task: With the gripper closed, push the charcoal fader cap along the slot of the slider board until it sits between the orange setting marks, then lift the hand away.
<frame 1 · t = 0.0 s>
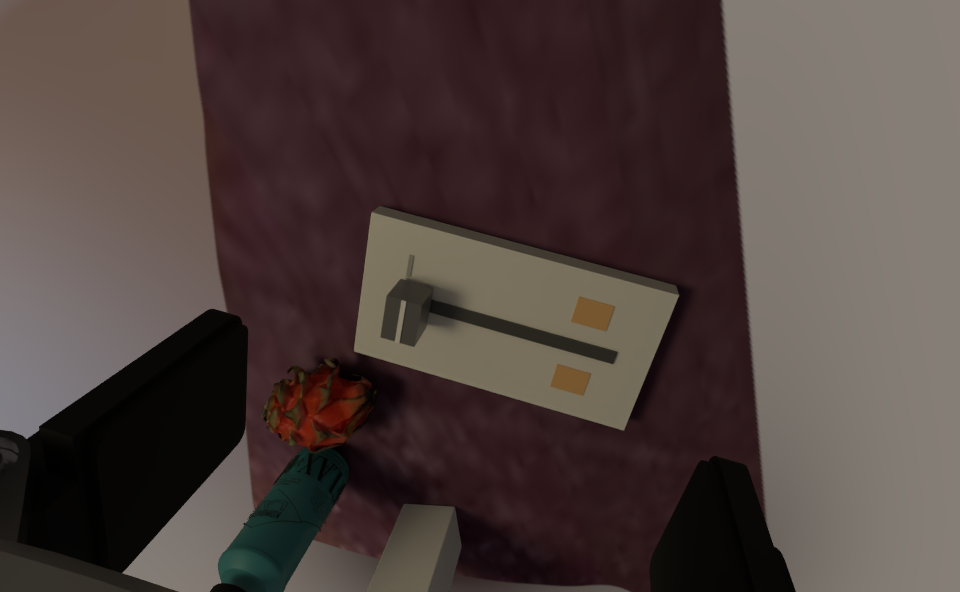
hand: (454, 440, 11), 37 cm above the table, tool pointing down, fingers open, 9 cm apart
slider board: (506, 315, 51), on the table
fader: (407, 312, 48), point 4 cm above the table, slide at -8.0 cm
milk: (433, 523, 64), on the table
beverage bottle: (329, 456, 63), on the table
dragon fruit: (337, 383, 59), on the table
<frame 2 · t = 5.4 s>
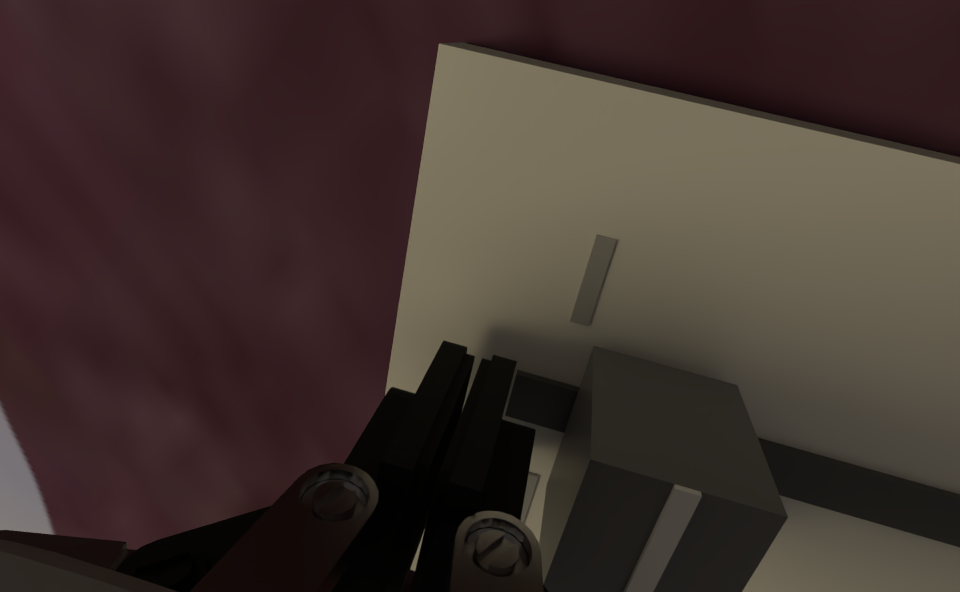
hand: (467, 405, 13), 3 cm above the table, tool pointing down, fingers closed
slider board: (908, 456, 14), on the table
fader: (638, 499, 11), point 4 cm above the table, slide at -7.1 cm, touching gripper
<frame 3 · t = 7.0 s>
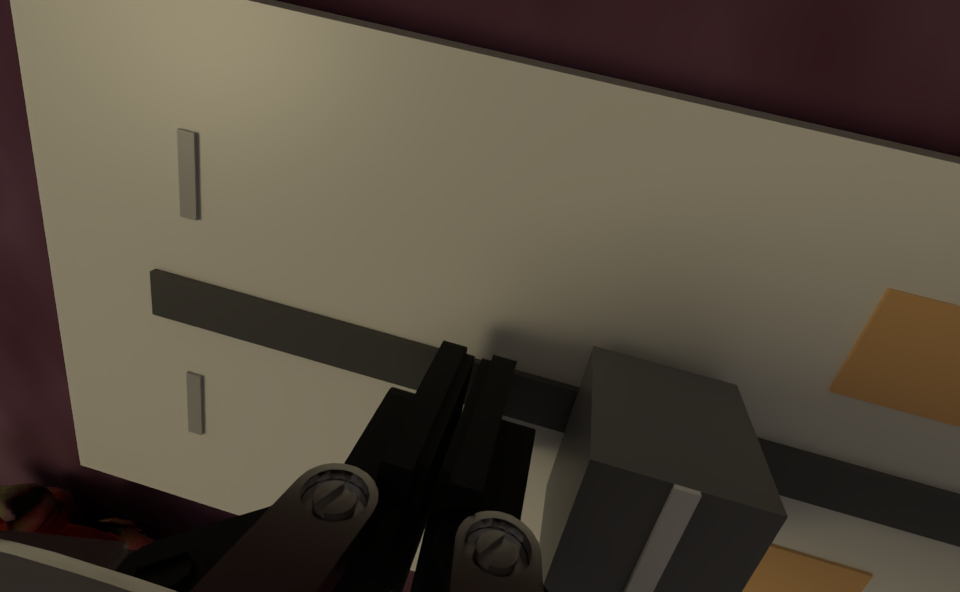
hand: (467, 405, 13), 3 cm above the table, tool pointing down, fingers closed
slider board: (552, 357, 15), on the table
fader: (638, 499, 11), point 4 cm above the table, slide at 2.1 cm, touching gripper
dragon fruit: (99, 525, 22), on the table
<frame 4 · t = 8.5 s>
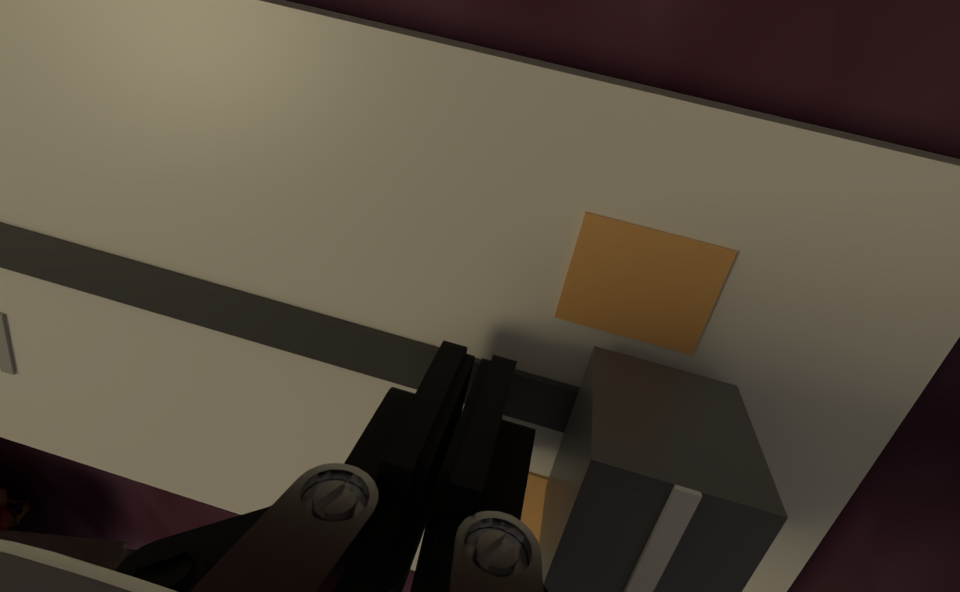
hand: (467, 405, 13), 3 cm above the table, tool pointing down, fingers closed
slider board: (344, 298, 16), on the table
fader: (638, 499, 11), point 4 cm above the table, slide at 8.0 cm, touching gripper
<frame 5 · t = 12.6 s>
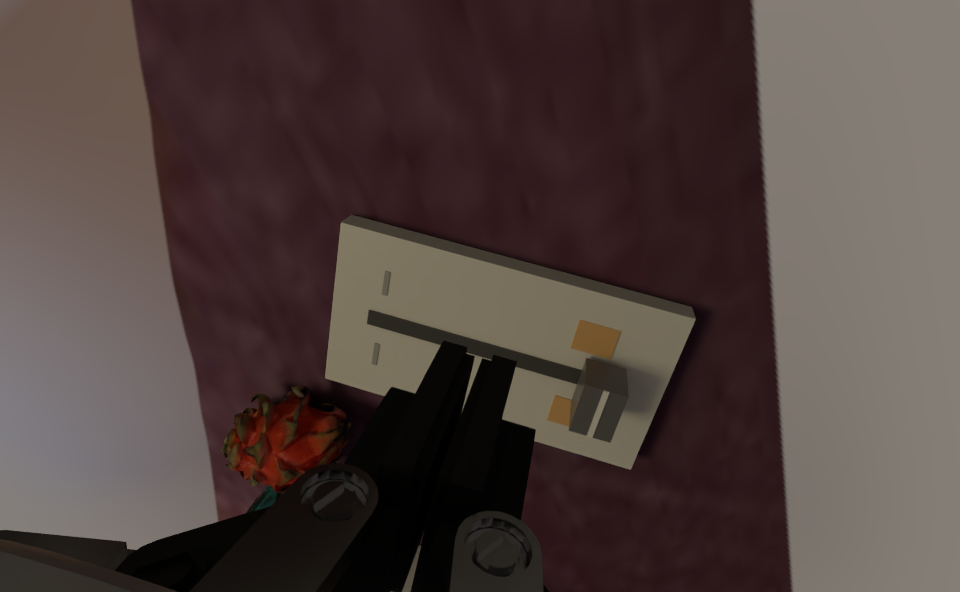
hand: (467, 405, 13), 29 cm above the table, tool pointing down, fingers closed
slider board: (496, 339, 45), on the table
fader: (598, 399, 41), point 4 cm above the table, slide at 8.3 cm
beverage bottle: (302, 490, 57), on the table
dragon fruit: (309, 412, 52), on the table
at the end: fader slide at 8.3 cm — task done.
